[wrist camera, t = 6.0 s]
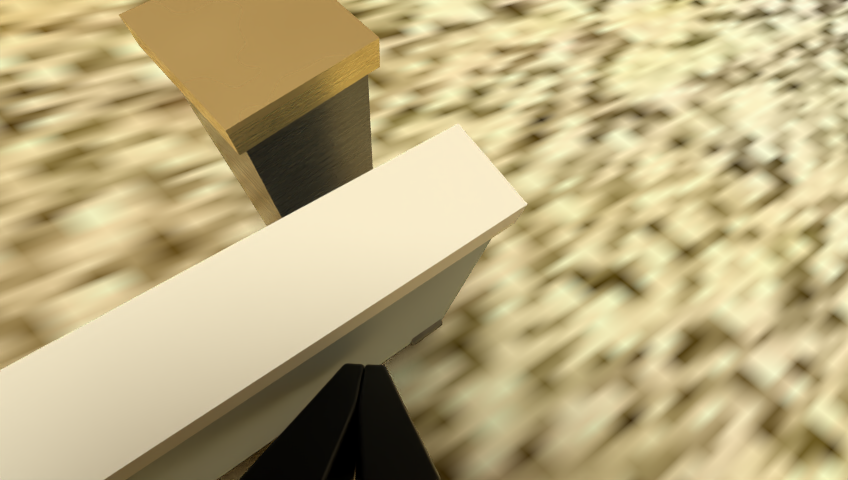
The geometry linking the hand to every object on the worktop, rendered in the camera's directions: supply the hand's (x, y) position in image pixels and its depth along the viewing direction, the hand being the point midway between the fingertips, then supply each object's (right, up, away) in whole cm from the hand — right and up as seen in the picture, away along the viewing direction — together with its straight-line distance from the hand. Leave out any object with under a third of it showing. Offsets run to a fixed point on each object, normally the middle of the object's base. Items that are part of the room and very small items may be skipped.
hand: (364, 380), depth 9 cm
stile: (-2, +2, +8) cm, 8 cm away
